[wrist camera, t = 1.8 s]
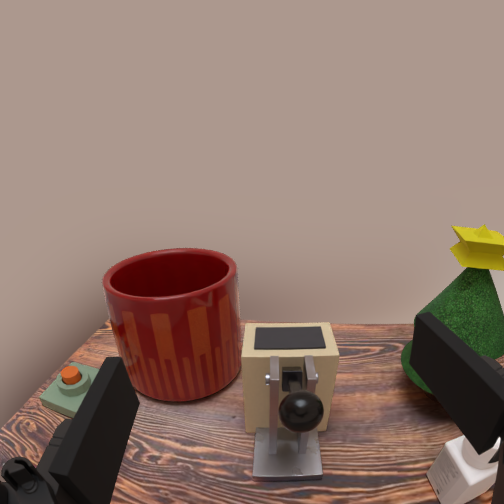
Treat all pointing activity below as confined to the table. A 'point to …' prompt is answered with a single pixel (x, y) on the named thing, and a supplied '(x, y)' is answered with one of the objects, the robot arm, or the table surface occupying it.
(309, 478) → the metal lever stand
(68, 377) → the button
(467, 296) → the decorative tree
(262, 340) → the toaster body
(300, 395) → the toaster lever
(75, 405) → the control block
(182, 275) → the planter
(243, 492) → the table surface
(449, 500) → the container
